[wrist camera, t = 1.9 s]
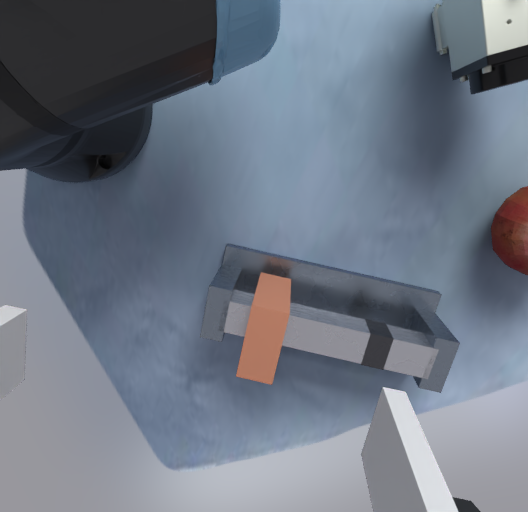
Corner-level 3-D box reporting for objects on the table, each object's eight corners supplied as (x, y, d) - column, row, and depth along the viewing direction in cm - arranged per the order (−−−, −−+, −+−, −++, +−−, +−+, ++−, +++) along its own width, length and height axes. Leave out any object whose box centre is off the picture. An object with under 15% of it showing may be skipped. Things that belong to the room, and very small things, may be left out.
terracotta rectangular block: (247, 331, 41) (235, 376, 33) (260, 272, 39) (251, 304, 31) (276, 337, 41) (271, 384, 33) (291, 279, 39) (289, 313, 31)
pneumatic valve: (435, 104, 37) (498, 86, 25) (415, -39, 34) (476, -133, 23) (499, 88, 36) (594, 61, 25) (483, -60, 33) (582, -169, 22)
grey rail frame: (212, 322, 44) (196, 356, 37) (227, 243, 42) (213, 264, 34) (410, 367, 44) (433, 411, 37) (438, 291, 41) (468, 322, 34)
